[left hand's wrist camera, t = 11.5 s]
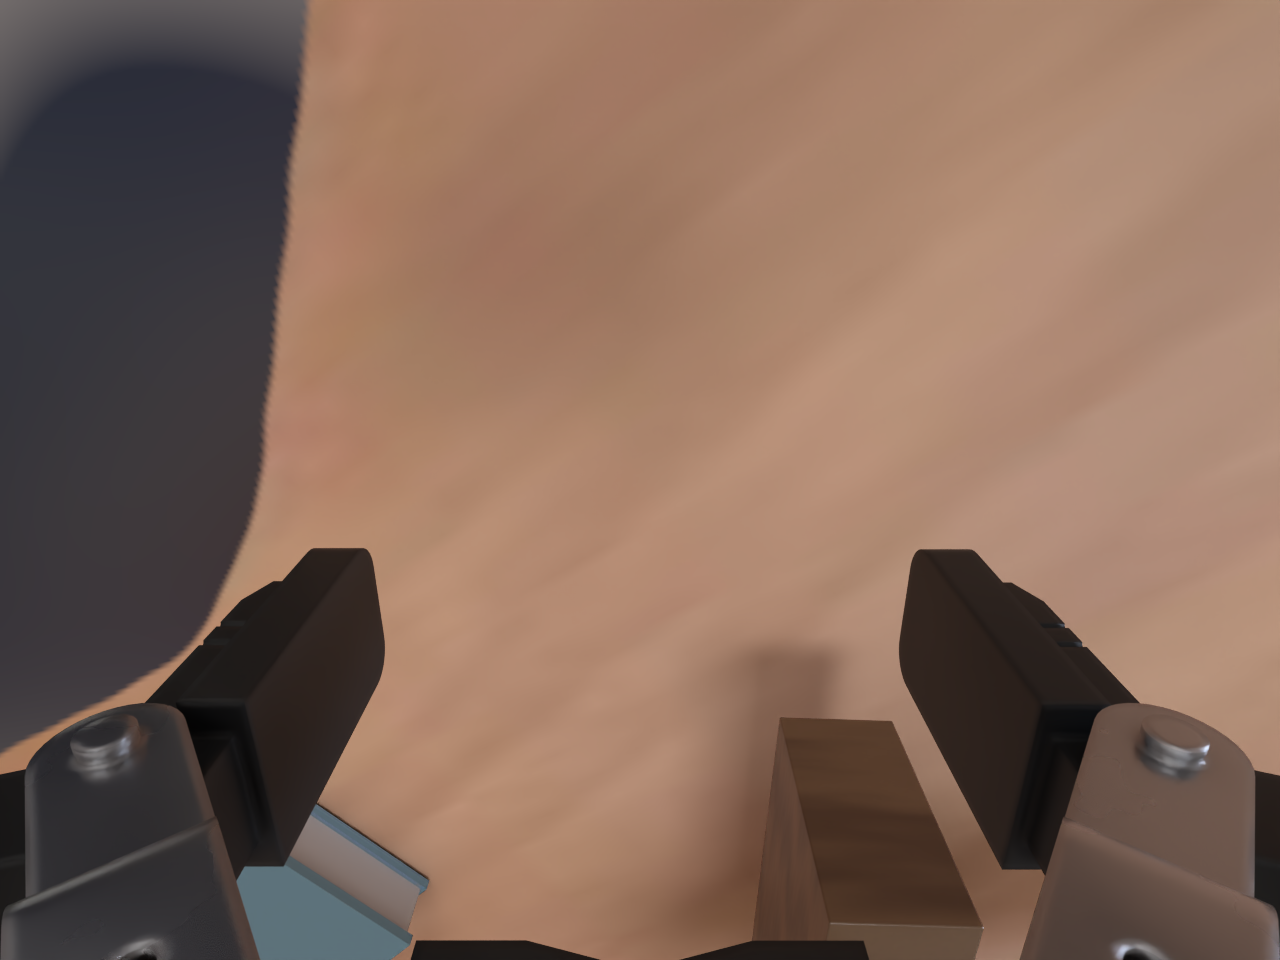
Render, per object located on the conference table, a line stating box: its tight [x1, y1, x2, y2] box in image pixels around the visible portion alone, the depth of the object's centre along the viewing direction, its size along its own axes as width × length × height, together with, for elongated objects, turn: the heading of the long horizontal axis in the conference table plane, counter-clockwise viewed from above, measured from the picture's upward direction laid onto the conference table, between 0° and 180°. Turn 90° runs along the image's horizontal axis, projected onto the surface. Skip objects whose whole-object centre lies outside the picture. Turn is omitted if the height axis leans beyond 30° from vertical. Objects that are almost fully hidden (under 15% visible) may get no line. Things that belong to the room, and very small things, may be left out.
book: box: [236, 804, 429, 960], centre depth 54 cm, size 23×16×5 cm
